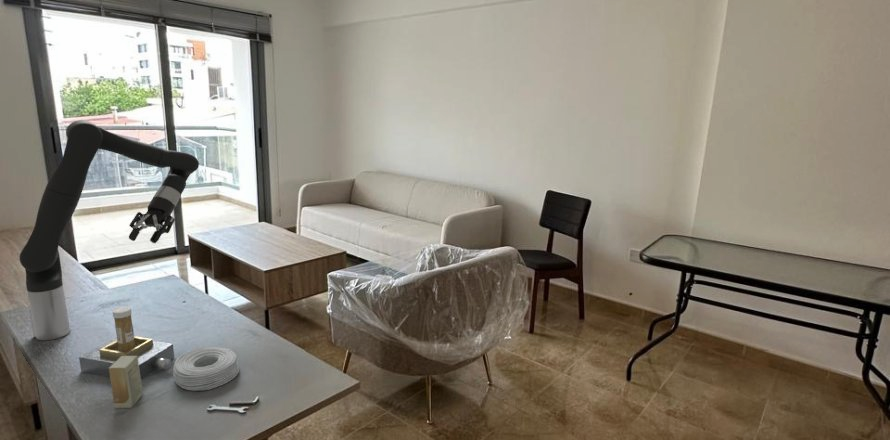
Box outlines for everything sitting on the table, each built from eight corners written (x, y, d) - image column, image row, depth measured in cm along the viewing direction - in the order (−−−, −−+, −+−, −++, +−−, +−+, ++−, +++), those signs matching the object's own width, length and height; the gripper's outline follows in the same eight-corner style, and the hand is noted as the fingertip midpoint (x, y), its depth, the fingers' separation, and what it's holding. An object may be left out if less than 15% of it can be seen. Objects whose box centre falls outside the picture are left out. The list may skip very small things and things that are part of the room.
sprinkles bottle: (136, 351, 145) (130, 310, 141) (118, 355, 142) (112, 313, 139) (136, 344, 148) (130, 305, 145) (118, 348, 146) (112, 308, 143)
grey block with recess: (81, 372, 142) (77, 350, 140) (121, 349, 155) (119, 329, 153) (149, 384, 137) (146, 362, 135) (185, 360, 150) (183, 339, 148)
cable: (170, 371, 144) (168, 353, 143) (231, 355, 154) (230, 338, 153) (179, 400, 131) (177, 381, 129) (245, 381, 141) (244, 362, 139)
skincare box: (127, 394, 132) (121, 354, 129) (143, 394, 132) (138, 354, 129) (113, 409, 126) (107, 367, 123) (130, 408, 126) (125, 367, 123)
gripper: (140, 194, 168) (116, 233, 160) (175, 197, 165) (152, 237, 157) (154, 205, 174) (131, 244, 166) (187, 209, 171) (166, 248, 163)
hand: (141, 240), depth 162 cm, fingers open, 8 cm apart
